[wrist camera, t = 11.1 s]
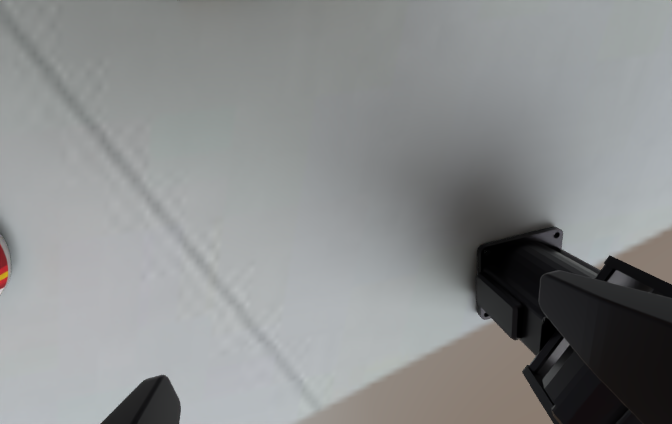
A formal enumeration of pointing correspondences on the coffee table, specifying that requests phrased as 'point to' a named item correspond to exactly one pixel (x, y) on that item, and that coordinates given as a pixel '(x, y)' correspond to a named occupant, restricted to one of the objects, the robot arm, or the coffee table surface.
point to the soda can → (4, 264)
